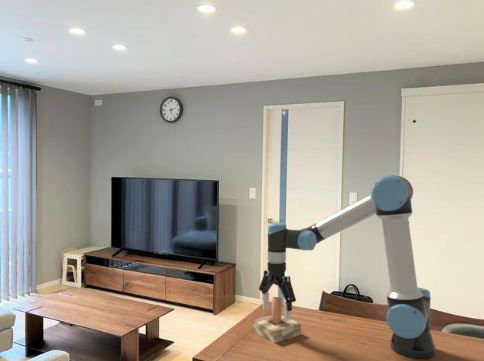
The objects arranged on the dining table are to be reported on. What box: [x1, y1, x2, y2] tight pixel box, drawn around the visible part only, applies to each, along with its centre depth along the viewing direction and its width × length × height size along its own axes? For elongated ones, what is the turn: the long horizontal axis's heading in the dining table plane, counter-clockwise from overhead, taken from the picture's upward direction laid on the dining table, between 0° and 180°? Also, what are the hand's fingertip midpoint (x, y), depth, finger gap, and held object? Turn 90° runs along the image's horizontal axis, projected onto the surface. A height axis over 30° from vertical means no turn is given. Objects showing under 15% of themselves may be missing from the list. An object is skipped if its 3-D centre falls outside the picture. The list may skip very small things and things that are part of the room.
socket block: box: [251, 314, 302, 344], centre depth 155 cm, size 14×14×4 cm
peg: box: [271, 296, 283, 326], centre depth 155 cm, size 4×4×14 cm
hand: (276, 313), depth 155 cm, fingers open, 13 cm apart
